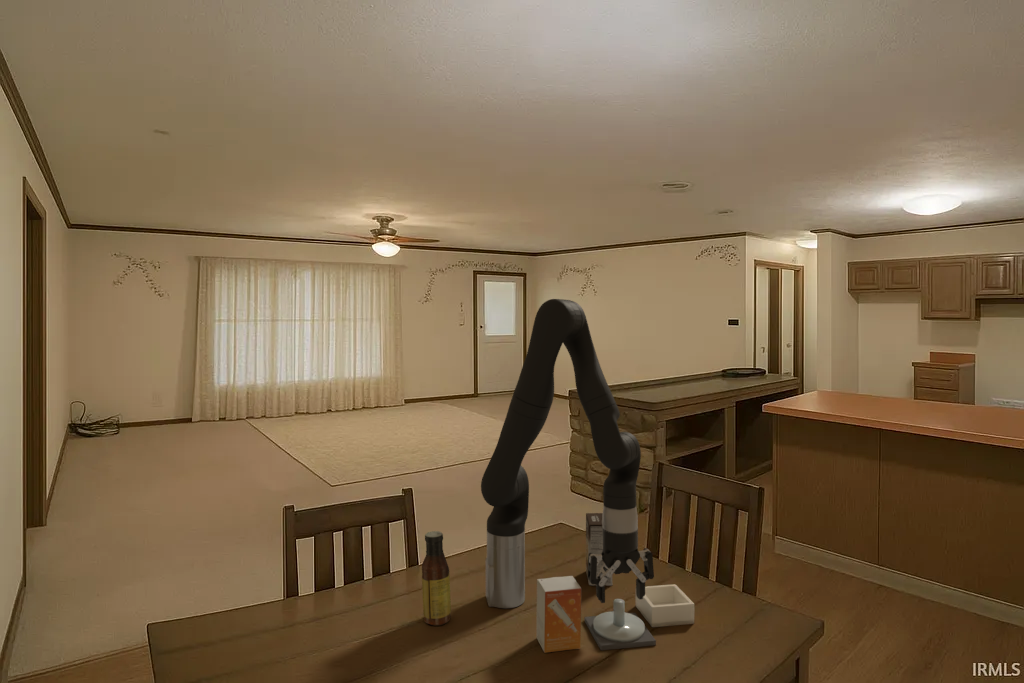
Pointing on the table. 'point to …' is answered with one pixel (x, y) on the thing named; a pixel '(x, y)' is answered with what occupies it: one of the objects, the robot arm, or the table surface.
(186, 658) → the table surface
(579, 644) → the small box
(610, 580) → the coffee box
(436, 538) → the sauce bottle
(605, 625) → the lid
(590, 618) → the mat
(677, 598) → the open square container
